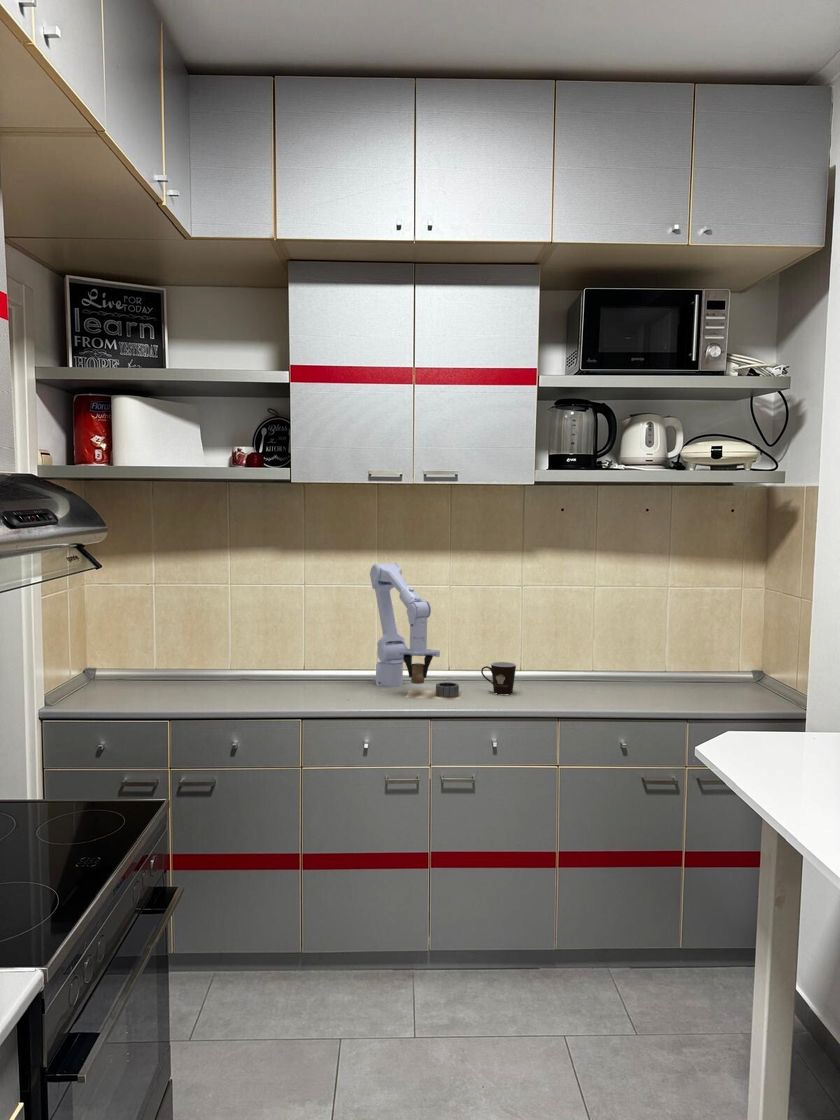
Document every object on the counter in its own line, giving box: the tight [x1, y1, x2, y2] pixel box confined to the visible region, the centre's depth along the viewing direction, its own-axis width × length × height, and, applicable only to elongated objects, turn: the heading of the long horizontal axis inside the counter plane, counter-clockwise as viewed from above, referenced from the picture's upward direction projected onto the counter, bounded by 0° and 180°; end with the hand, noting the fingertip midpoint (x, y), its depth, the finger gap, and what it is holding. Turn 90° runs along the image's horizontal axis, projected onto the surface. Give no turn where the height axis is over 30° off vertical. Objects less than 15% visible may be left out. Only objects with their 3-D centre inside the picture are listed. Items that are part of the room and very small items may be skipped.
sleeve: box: [435, 681, 460, 698], centre depth 272 cm, size 8×8×4 cm
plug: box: [410, 662, 425, 685], centre depth 273 cm, size 4×4×6 cm
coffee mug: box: [480, 661, 517, 695], centre depth 282 cm, size 12×9×10 cm
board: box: [404, 689, 462, 701], centre depth 273 cm, size 18×12×1 cm, turn 84°
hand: (417, 677), depth 273 cm, fingers closed on plug, 4 cm apart
